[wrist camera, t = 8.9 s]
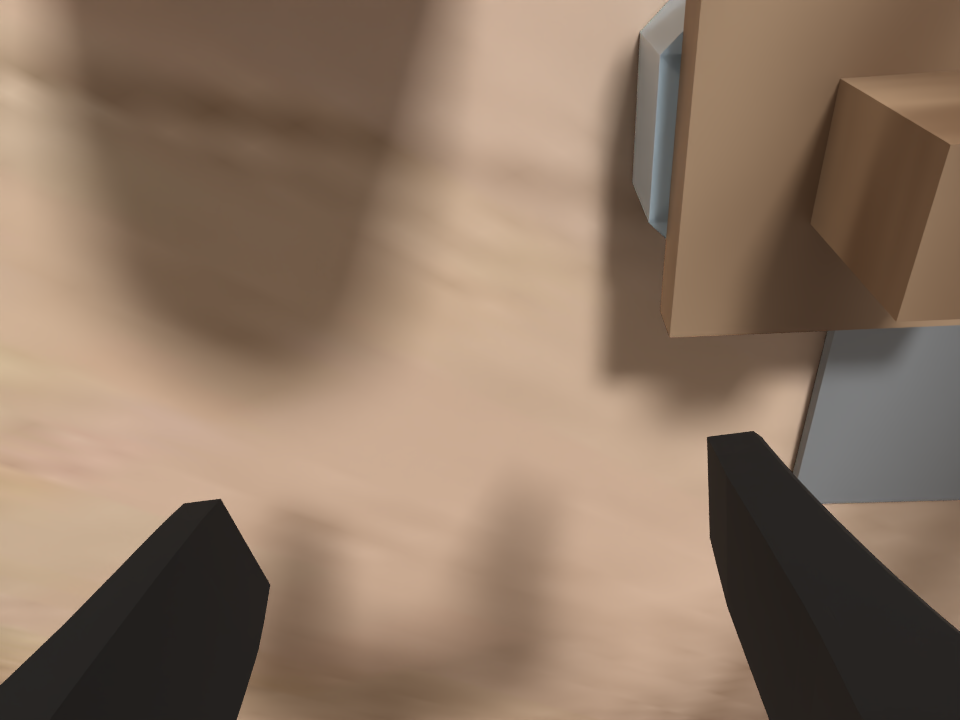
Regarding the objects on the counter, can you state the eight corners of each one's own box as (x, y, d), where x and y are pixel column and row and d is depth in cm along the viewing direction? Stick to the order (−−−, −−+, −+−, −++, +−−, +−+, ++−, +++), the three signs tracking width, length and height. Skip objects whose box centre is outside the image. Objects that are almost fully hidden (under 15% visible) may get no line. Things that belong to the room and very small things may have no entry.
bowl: (1083, -139, 14) (1185, -142, 12) (951, 254, 18) (1007, 301, 16) (646, -100, 14) (669, -97, 12) (627, 270, 19) (642, 317, 17)
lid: (1178, -124, 12) (1543, -127, 8) (1010, 294, 16) (1181, 435, 12) (692, -83, 12) (785, -64, 8) (660, 310, 17) (709, 451, 13)
